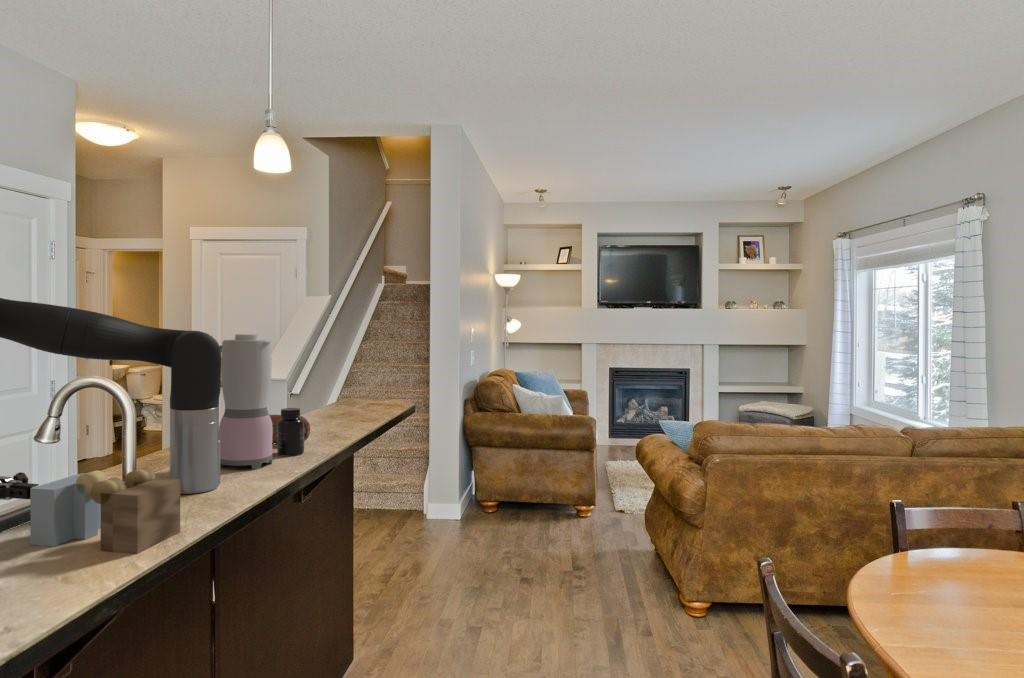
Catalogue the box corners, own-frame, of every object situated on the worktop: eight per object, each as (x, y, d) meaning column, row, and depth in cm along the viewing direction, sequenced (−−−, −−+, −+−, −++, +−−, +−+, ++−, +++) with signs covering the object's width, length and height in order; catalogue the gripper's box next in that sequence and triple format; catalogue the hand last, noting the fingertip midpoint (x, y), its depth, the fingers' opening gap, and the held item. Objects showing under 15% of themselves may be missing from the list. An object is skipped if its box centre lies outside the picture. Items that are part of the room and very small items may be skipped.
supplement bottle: (293, 449, 174) (294, 406, 173) (309, 453, 170) (309, 408, 169) (271, 453, 168) (271, 408, 168) (286, 457, 164) (287, 411, 164)
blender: (282, 460, 161) (283, 334, 159) (255, 472, 149) (256, 335, 147) (226, 457, 163) (227, 332, 162) (194, 468, 151) (195, 334, 150)
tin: (257, 443, 182) (257, 414, 181) (263, 441, 185) (263, 412, 184) (306, 446, 179) (306, 416, 179) (311, 444, 182) (311, 415, 182)
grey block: (81, 524, 110) (81, 463, 110) (123, 527, 109) (123, 465, 109) (30, 544, 100) (30, 477, 100) (75, 548, 99) (75, 480, 99)
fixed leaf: (137, 528, 109) (137, 466, 108) (180, 531, 107) (180, 469, 107) (90, 549, 99) (90, 481, 98) (137, 553, 98) (137, 484, 97)
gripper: (-98, 473, 101) (-2, 479, 98) (-17, 455, 114) (69, 460, 111) (-97, 519, 101) (-2, 527, 98) (-17, 496, 114) (69, 502, 111)
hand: (36, 491), depth 105 cm, fingers closed
